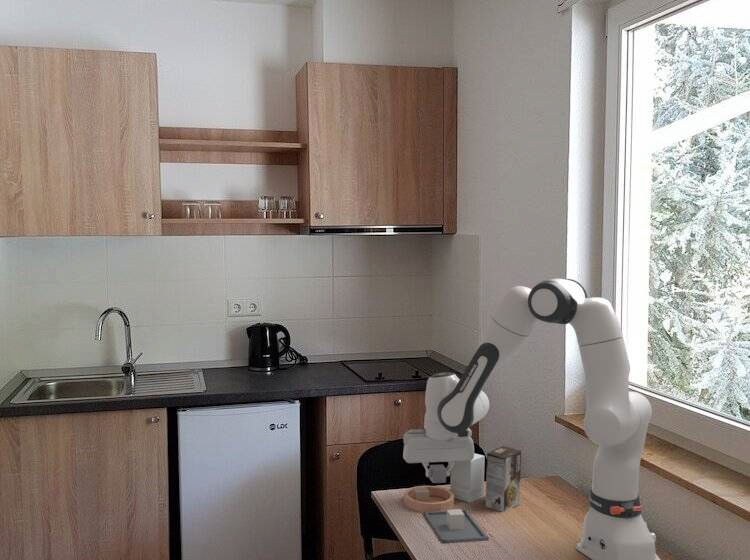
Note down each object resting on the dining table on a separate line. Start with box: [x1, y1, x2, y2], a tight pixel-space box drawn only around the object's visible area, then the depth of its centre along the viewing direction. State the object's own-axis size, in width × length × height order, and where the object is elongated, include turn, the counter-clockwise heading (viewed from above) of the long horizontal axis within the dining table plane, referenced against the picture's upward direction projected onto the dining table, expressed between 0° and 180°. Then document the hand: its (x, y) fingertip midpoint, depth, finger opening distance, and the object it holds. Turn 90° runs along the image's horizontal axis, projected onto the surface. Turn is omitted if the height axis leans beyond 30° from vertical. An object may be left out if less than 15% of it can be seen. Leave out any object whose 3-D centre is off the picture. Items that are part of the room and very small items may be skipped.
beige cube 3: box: [446, 508, 465, 530], centre depth 209 cm, size 4×4×4 cm
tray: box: [423, 509, 489, 544], centre depth 209 cm, size 18×12×1 cm, turn 11°
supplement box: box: [449, 452, 486, 503], centre depth 231 cm, size 7×7×13 cm
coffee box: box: [485, 445, 522, 513], centre depth 224 cm, size 9×6×16 cm
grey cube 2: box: [428, 464, 447, 484], centre depth 225 cm, size 4×4×4 cm
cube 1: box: [413, 486, 429, 503], centre depth 224 cm, size 4×4×4 cm
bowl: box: [403, 485, 455, 513], centre depth 225 cm, size 14×14×3 cm
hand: (437, 476), depth 225 cm, fingers closed on grey cube 2, 4 cm apart
